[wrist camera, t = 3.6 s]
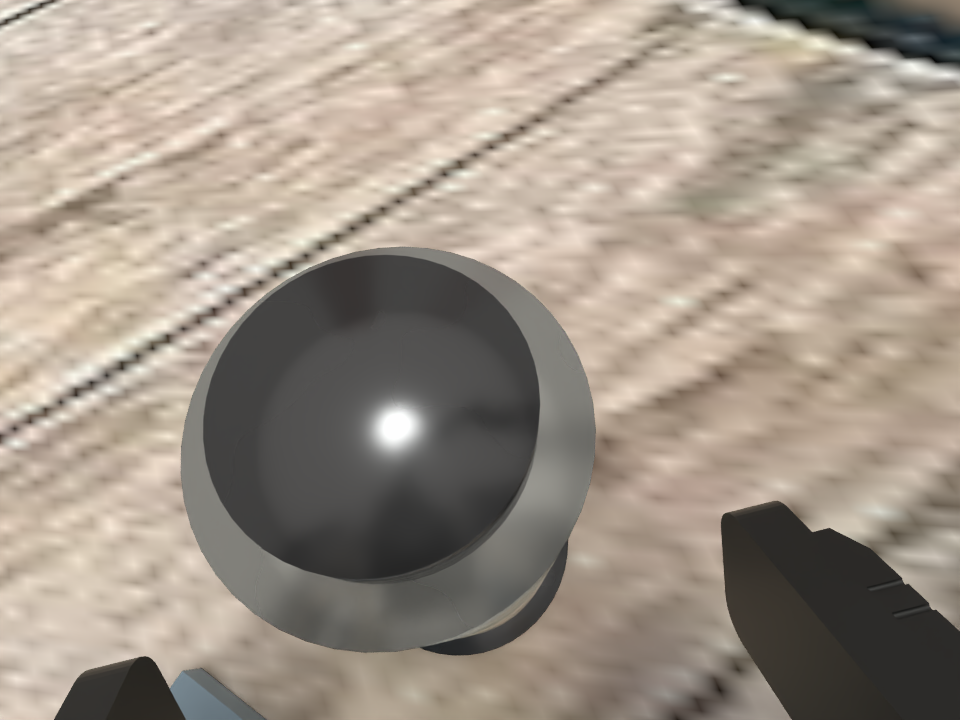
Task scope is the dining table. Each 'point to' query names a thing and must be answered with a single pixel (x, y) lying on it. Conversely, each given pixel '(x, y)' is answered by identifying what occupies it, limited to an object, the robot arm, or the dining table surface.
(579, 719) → the dining table surface
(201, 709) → the dock
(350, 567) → the thermos
